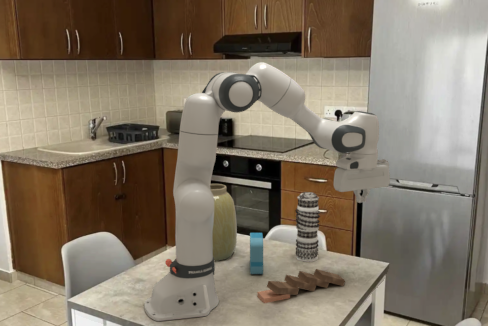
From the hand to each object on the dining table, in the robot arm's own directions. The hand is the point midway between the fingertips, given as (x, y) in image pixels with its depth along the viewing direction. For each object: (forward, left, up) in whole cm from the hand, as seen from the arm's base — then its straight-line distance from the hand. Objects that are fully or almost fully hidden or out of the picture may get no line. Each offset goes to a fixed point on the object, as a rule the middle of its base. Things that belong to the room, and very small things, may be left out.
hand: (361, 202), depth 163 cm
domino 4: (-13, 0, -26) cm, 29 cm away
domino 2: (-26, -1, -25) cm, 36 cm away
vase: (-37, +40, -27) cm, 61 cm away
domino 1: (-28, -1, -27) cm, 39 cm away
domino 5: (-7, -1, -26) cm, 27 cm away
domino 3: (-19, 0, -26) cm, 32 cm away
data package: (-28, +21, -27) cm, 45 cm away
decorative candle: (-6, +23, -27) cm, 37 cm away
